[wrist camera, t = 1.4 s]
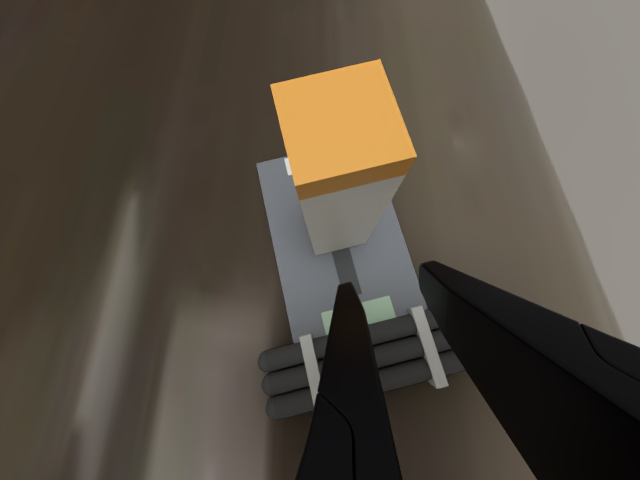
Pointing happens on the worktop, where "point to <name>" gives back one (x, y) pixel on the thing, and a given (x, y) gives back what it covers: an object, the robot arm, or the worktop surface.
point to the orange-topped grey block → (343, 150)
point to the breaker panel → (334, 262)
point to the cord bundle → (386, 354)
